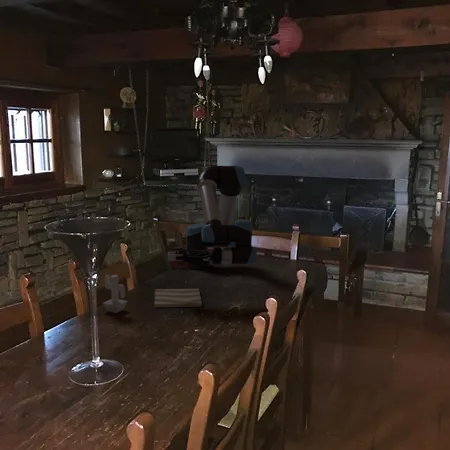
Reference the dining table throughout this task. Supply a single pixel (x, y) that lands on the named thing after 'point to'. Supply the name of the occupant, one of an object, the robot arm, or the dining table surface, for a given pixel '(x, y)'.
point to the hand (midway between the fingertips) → (167, 256)
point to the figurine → (114, 294)
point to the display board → (177, 298)
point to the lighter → (180, 264)
